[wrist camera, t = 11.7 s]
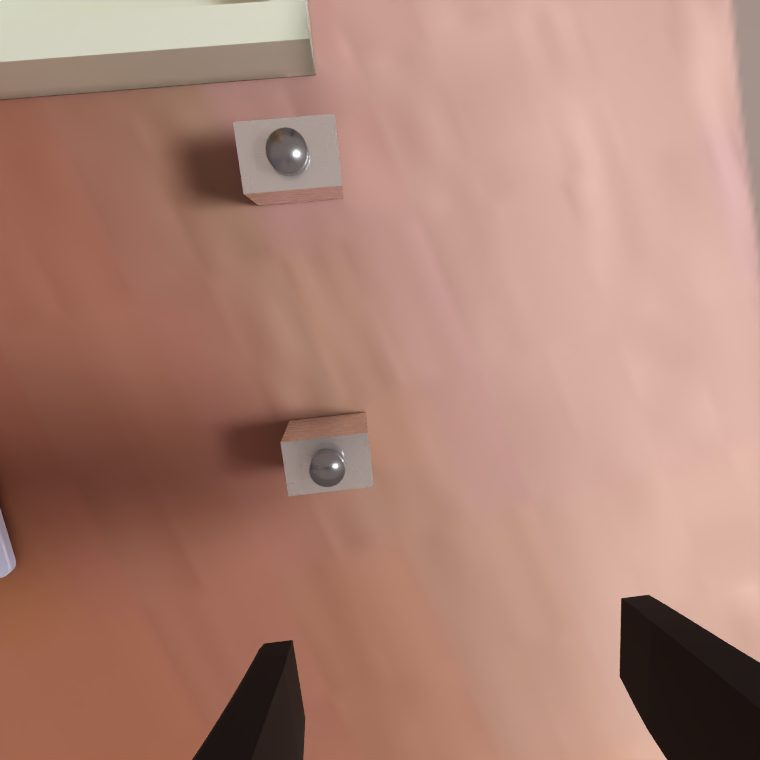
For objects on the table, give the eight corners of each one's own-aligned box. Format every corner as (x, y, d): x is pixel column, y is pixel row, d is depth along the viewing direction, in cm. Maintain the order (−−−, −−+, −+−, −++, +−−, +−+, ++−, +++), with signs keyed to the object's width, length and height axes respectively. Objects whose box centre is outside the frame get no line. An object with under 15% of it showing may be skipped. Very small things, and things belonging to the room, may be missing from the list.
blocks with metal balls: (296, 467, 19) (286, 502, 16) (250, 144, 16) (228, 116, 13) (370, 459, 19) (374, 492, 16) (337, 137, 16) (334, 107, 13)
